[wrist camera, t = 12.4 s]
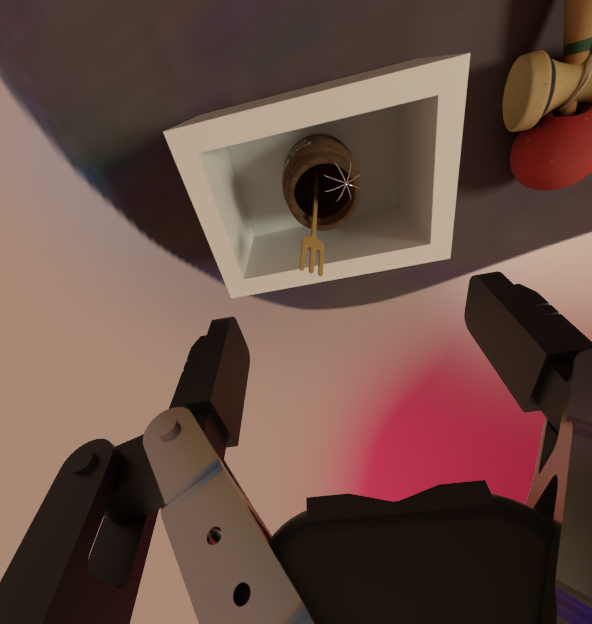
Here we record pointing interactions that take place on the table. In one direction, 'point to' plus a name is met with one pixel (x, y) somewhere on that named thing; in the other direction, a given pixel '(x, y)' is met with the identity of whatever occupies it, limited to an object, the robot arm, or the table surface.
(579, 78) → the kendama
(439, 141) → the open rectangular box
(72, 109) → the table surface
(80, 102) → the table surface
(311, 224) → the utensil holder
